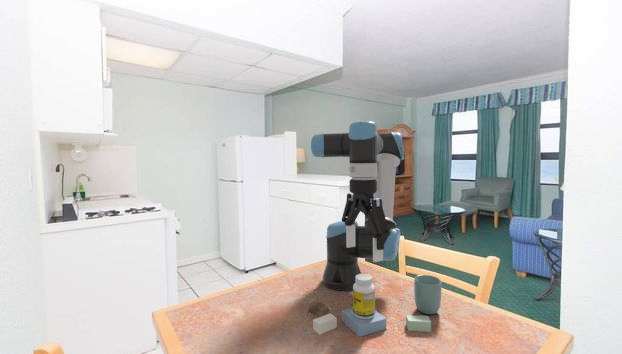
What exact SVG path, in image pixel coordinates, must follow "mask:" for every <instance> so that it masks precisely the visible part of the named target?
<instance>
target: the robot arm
mask: <svg viewBox="0 0 622 354" xmlns="http://www.w3.org/2000/svg"><path fill="white" fill-rule="evenodd" d="M310 151H311V153H312V156H313V157H315V158H322V159H323V158H348V160H349V161H348V163H349V167H348V170H349V177H350V179H349V192H348V193H346V202H345V204H344V209H343V213H342V217H341V221H336V222H332V223H331V224H328V226H327V229H326V236H325V237H326V256H327V257H326V265H325V268H324V271H323V274H322V284H323V285H324V286H325V287H327V288H328V289H332V290H334V291H335V290H336V291H353V285H354V284H355V283H356V281H355V277H356V275H358V274H362V272H361V268H360V266H359V263H358V260H359V259H365V260H372V262H373V263H379V262H384V261H387V262H391V261H392V262H393V261H394V260H395V259H396V258H397V256H398V252H399V247H400V242H401V229H400V228H398V227H397V223H396V222H395V221H394V206H395V205H394V204H395V189H396V187H395V186H396V173H397V171H396V170H397V167H398V166H400V164H401V161H403V160H404V159H405V154H404V145H403V136H402V133H400V132H392V131H390V132H378V130H377V124H376V122H374V121H354V122H352V123H350V125H349V127H348V132H340V133H318V134H314V135H313V136H312V137H311V141H310ZM360 212H361V213H362V214H364V215H365V216H366V218H367V219H365V221H364V225H359V224H358V222H357V221H356V219H358V216H359V214H360ZM364 215H363V216H364Z"/></svg>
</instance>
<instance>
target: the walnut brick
mask: <svg viewBox="0 0 622 354" xmlns="http://www.w3.org/2000/svg"><path fill="white" fill-rule="evenodd" d="M308 313H310V314H312V315H314V316H315V317H316V318H319V317H322V316H324V315H327V314H330V306H329V305H327V304H325V303H323V302H321V301H319V300H316V299H314V300H313V301H310V302H308Z"/></svg>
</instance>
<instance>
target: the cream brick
mask: <svg viewBox="0 0 622 354" xmlns="http://www.w3.org/2000/svg"><path fill="white" fill-rule="evenodd" d="M337 323H338V319H337V316H334V315H333V314H332V313H329V314H327V315H324V316H322V317H316V318H315V319H312V327H313V329H312V330H313V331H314V332H316V333H317V334H318V335H322V334H325V333H327V332H329V331H332V330H334V329H336V328H337V327H338V325H337Z"/></svg>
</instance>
